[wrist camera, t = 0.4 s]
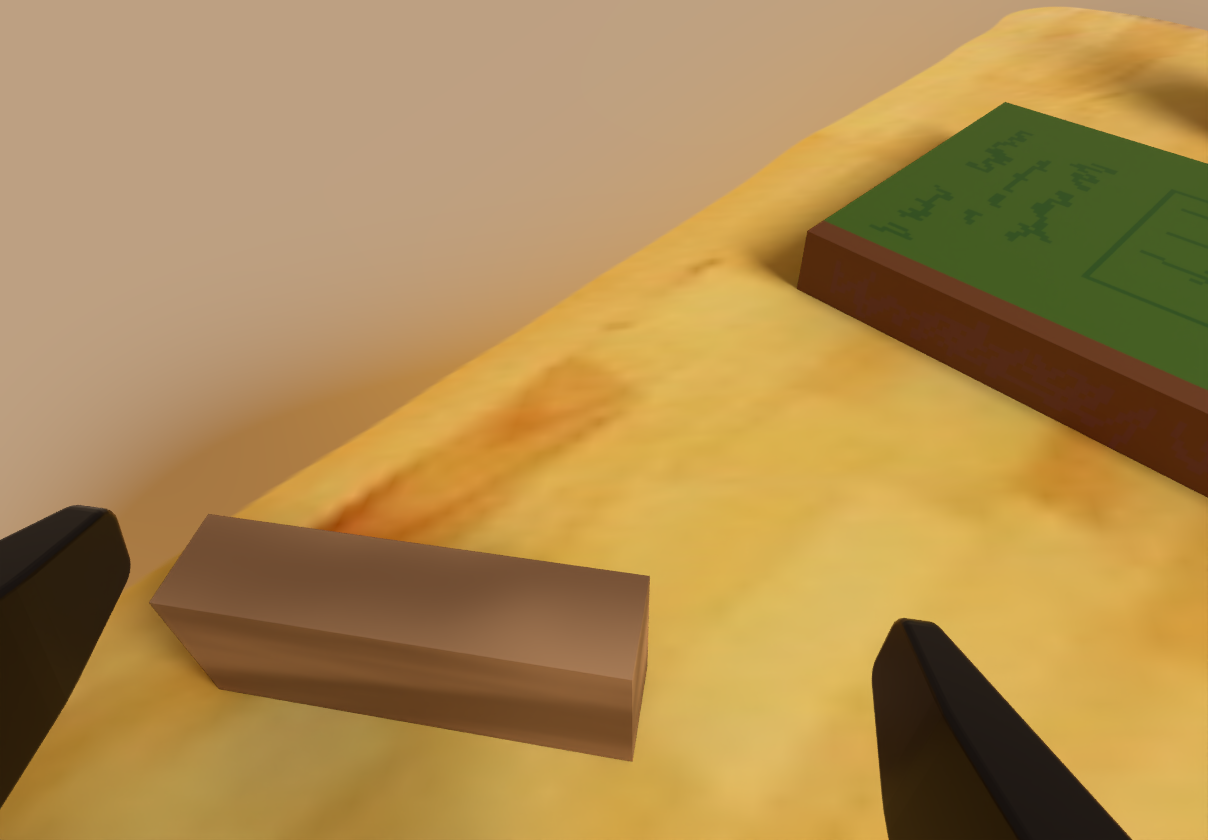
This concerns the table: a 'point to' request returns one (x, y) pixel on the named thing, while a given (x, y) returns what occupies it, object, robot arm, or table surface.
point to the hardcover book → (1043, 277)
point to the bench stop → (415, 632)
